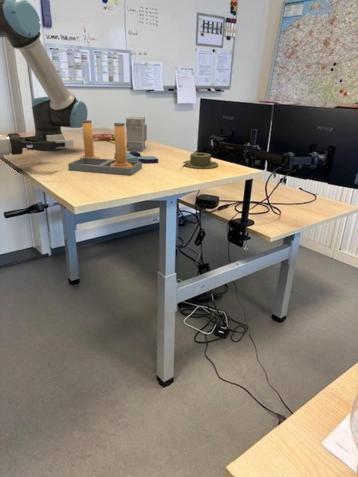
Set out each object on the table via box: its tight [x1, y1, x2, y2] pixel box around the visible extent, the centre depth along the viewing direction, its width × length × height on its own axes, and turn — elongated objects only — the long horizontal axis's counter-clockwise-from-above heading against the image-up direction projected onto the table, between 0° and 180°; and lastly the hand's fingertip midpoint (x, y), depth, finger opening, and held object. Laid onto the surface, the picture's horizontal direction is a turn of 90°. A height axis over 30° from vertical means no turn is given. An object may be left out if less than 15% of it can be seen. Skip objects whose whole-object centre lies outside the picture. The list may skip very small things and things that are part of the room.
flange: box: [182, 152, 219, 170], centre depth 148 cm, size 5×15×15 cm
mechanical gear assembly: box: [92, 133, 115, 145], centre depth 196 cm, size 30×4×15 cm
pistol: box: [113, 151, 159, 164], centre depth 148 cm, size 4×16×15 cm
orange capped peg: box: [110, 122, 132, 168], centre depth 128 cm, size 8×8×17 cm
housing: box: [67, 156, 143, 176], centre depth 132 cm, size 24×12×4 cm, turn 77°
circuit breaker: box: [125, 116, 148, 153], centre depth 174 cm, size 8×14×15 cm, turn 174°
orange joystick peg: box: [79, 119, 100, 159], centre depth 143 cm, size 8×8×17 cm
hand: (68, 140), depth 138 cm, fingers open, 13 cm apart
